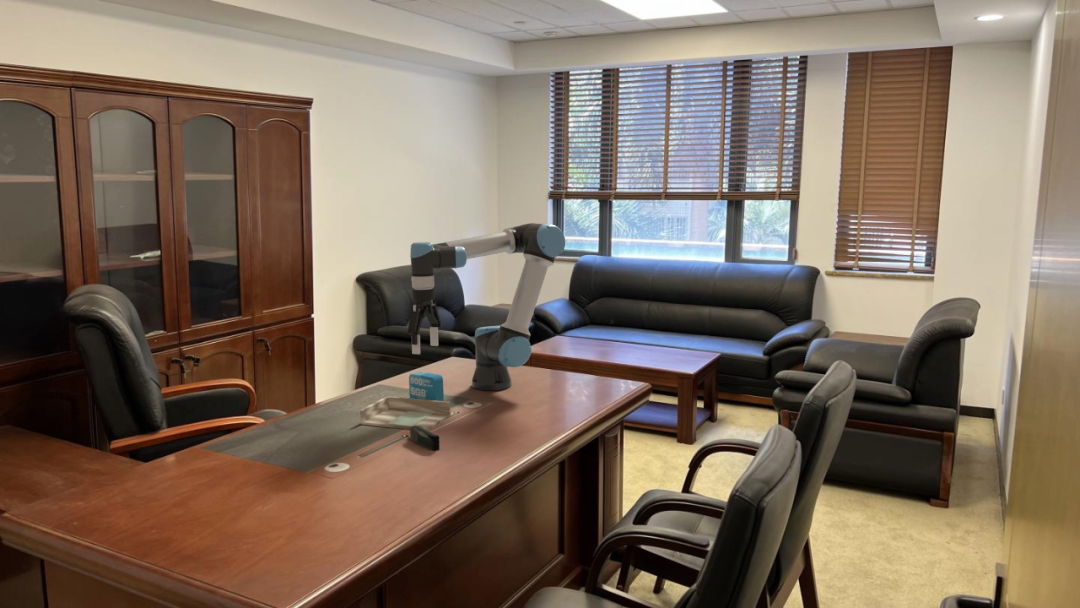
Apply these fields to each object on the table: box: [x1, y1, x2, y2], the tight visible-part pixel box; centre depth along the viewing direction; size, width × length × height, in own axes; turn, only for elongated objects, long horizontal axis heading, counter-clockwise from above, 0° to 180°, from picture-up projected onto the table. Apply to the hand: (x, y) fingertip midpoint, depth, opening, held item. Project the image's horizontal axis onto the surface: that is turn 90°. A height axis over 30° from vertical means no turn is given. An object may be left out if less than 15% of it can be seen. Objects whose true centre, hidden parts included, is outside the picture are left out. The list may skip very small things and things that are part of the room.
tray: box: [359, 395, 452, 431], centre depth 254 cm, size 17×24×5 cm
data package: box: [408, 371, 445, 401], centre depth 267 cm, size 12×4×12 cm, turn 56°
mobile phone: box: [406, 426, 441, 452], centre depth 230 cm, size 5×3×15 cm
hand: (425, 349), depth 265 cm, fingers open, 13 cm apart
